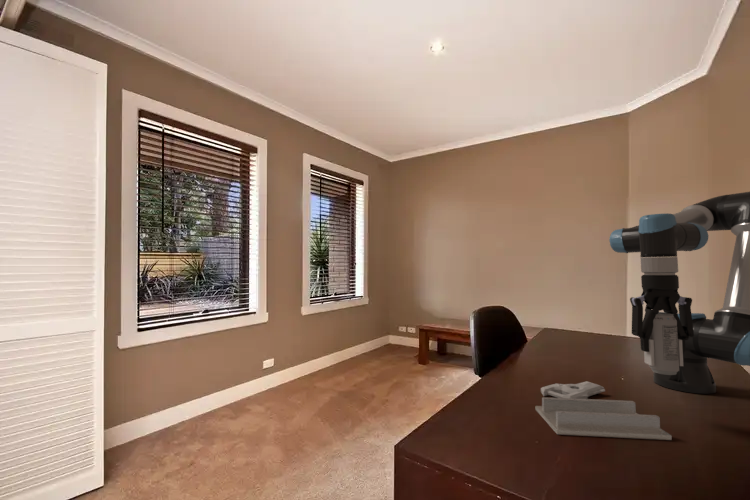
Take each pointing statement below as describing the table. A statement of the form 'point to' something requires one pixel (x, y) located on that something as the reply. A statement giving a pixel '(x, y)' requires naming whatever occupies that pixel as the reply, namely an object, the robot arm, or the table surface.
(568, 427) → the grey flanged channel tray
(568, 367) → the table surface
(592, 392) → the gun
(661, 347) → the energy drink can
